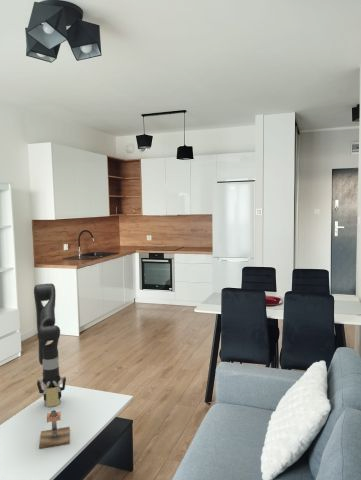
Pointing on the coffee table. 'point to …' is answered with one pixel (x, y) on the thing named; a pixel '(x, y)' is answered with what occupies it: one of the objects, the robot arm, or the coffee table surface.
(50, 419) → the orange square ring
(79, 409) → the coffee table surface
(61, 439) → the post stand
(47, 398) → the sleeve
